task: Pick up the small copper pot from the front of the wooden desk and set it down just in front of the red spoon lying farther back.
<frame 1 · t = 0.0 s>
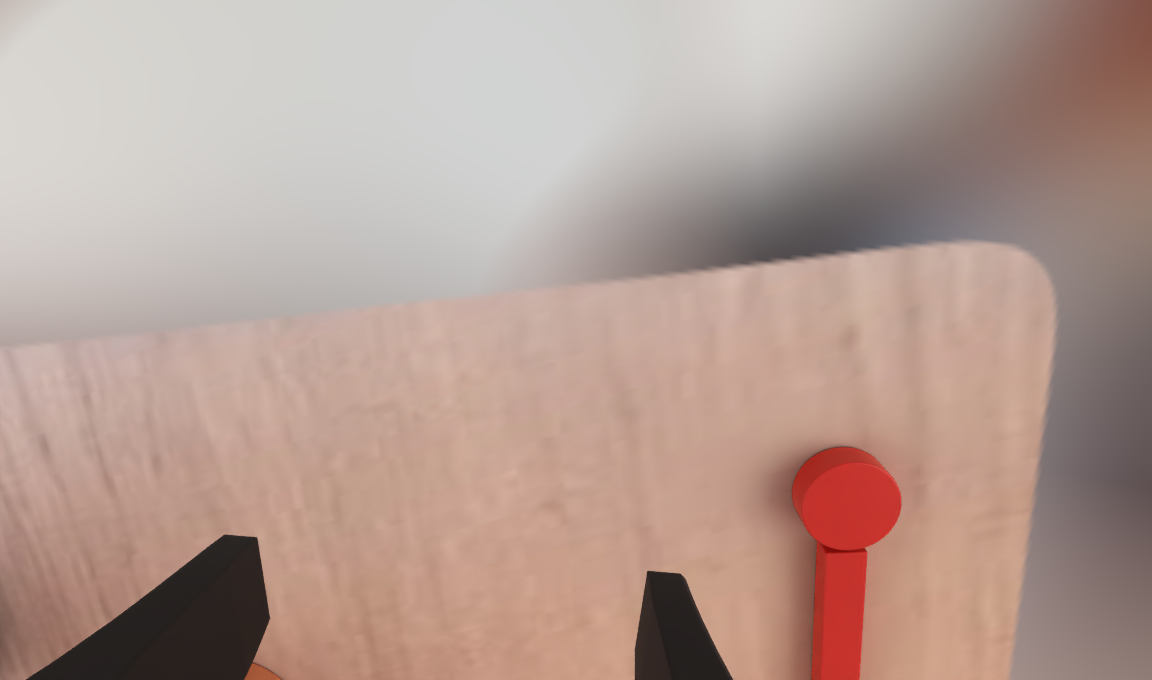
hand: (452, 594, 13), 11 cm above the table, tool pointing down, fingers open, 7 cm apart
red spoon: (833, 610, 25), on the table
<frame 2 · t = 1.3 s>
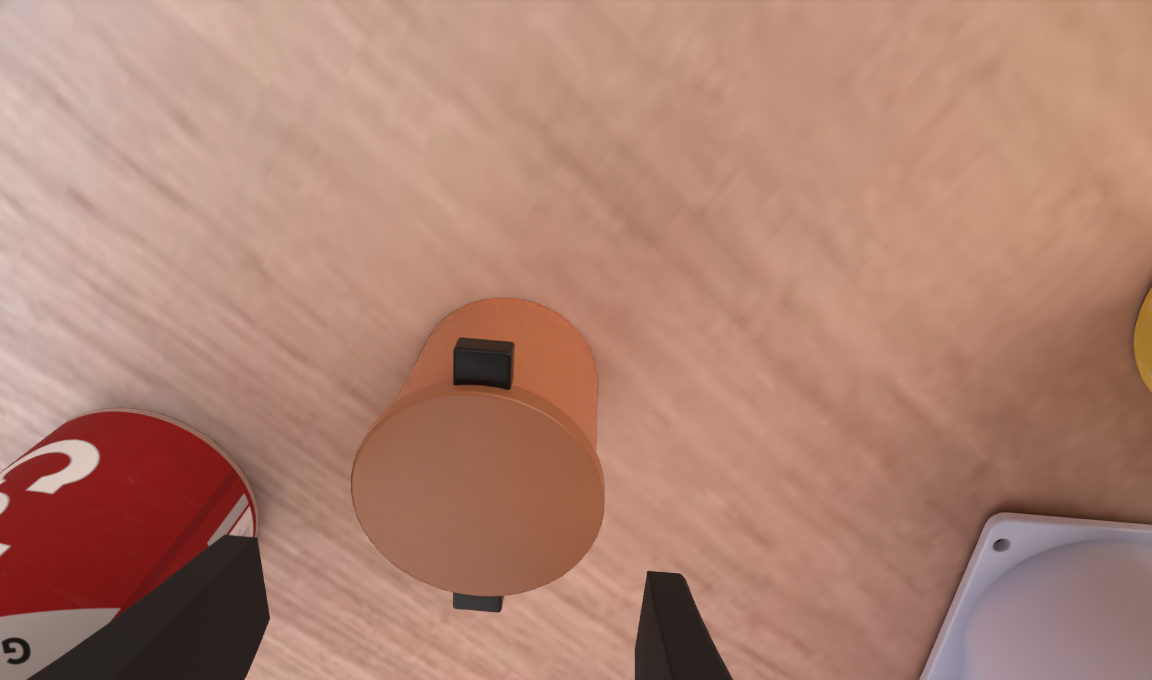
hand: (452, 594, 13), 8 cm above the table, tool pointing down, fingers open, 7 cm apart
soda can: (167, 482, 23), on the table
copper pot: (508, 379, 20), on the table
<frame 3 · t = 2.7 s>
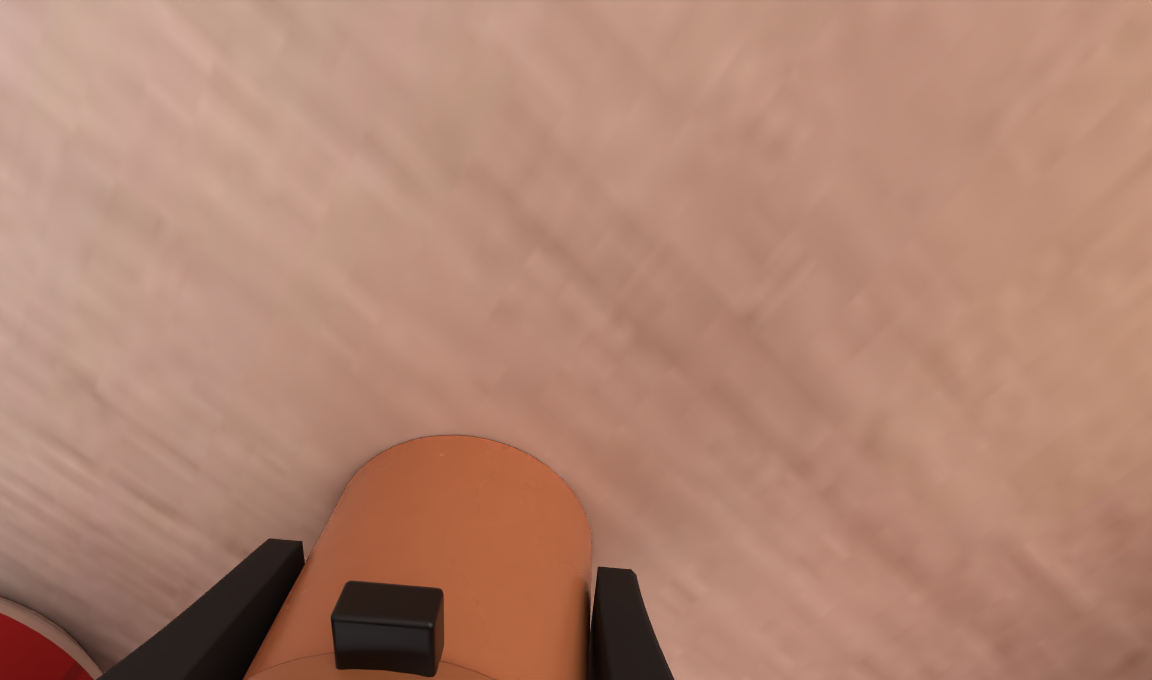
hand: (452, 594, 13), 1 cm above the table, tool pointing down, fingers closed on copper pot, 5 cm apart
soda can: (1, 660, 16), on the table
copper pot: (464, 541, 14), on the table, touching gripper
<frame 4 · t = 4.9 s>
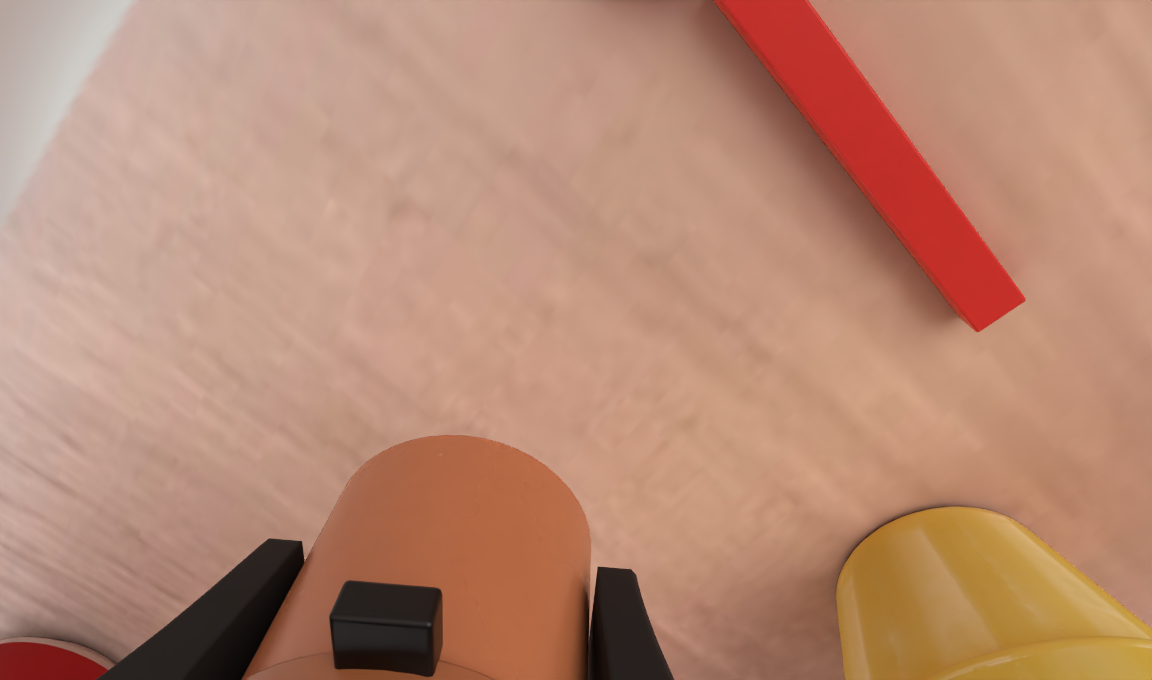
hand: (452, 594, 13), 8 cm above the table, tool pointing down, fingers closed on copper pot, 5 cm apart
red spoon: (810, 74, 17), on the table
copper pot: (463, 541, 14), point 7 cm above the table, touching gripper
flower pot: (931, 580, 23), on the table
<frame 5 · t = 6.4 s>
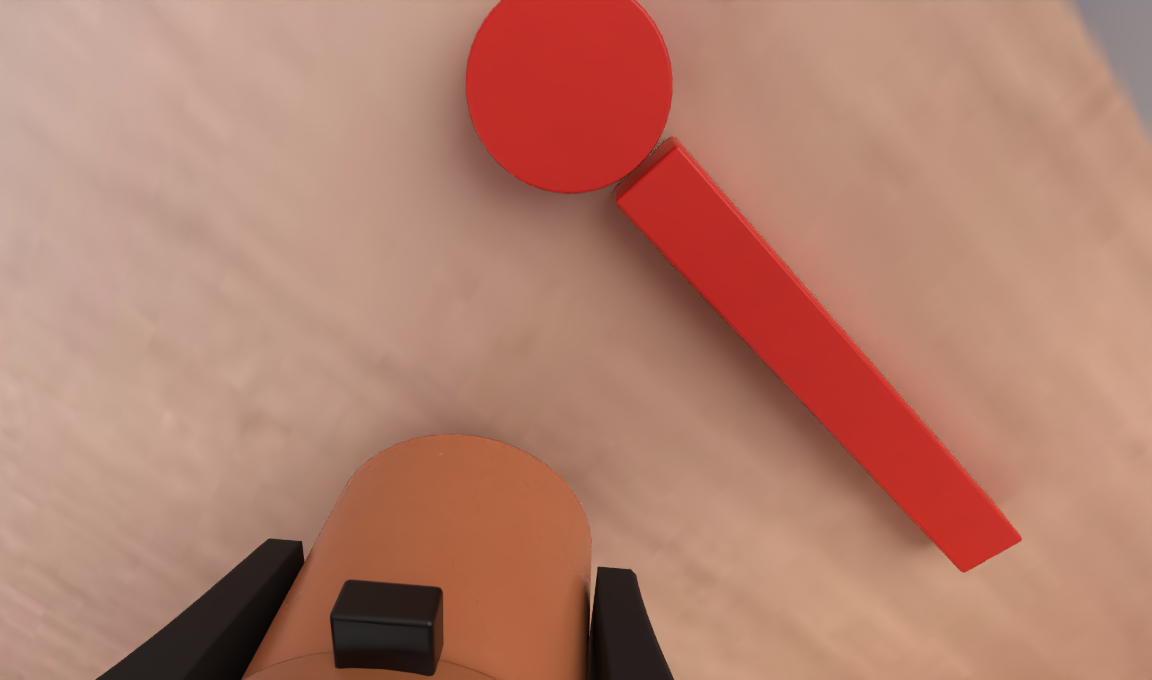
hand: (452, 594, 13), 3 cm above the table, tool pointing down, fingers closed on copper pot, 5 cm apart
red spoon: (747, 278, 13), on the table
copper pot: (463, 540, 14), point 2 cm above the table, touching gripper
when the fingers open (1 cm above the table, at t = 7.5 s): copper pot stays where it is, on the table.
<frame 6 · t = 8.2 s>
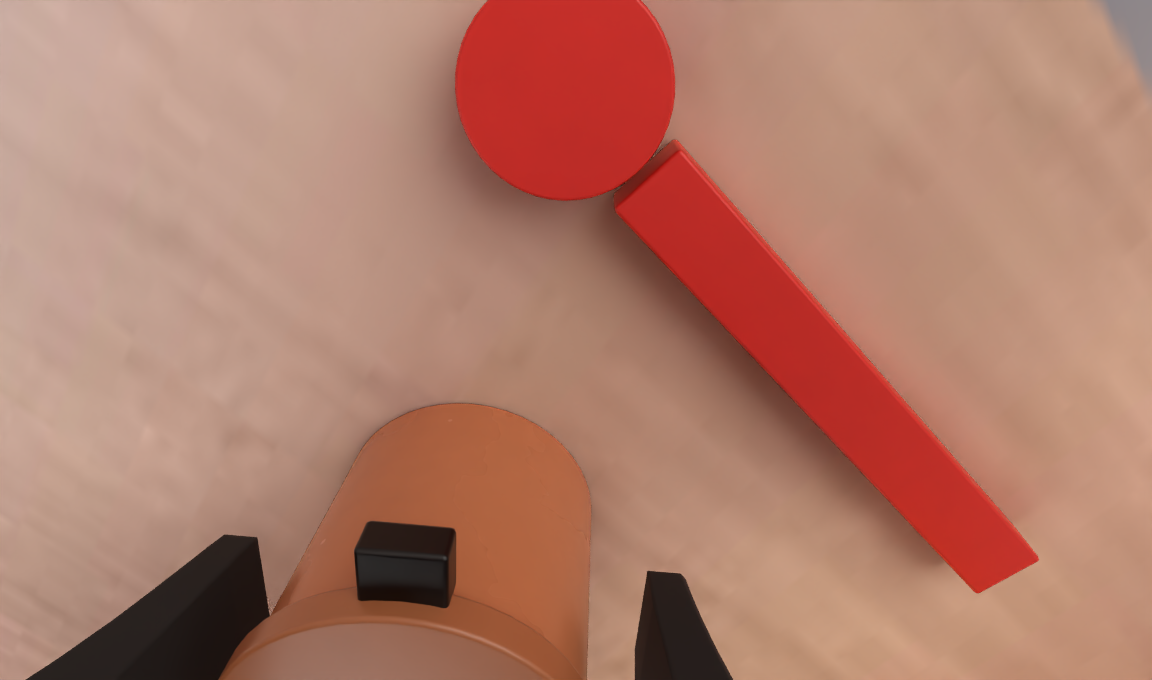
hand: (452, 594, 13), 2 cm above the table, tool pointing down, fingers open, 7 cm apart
red spoon: (753, 288, 13), on the table
copper pot: (470, 506, 15), on the table
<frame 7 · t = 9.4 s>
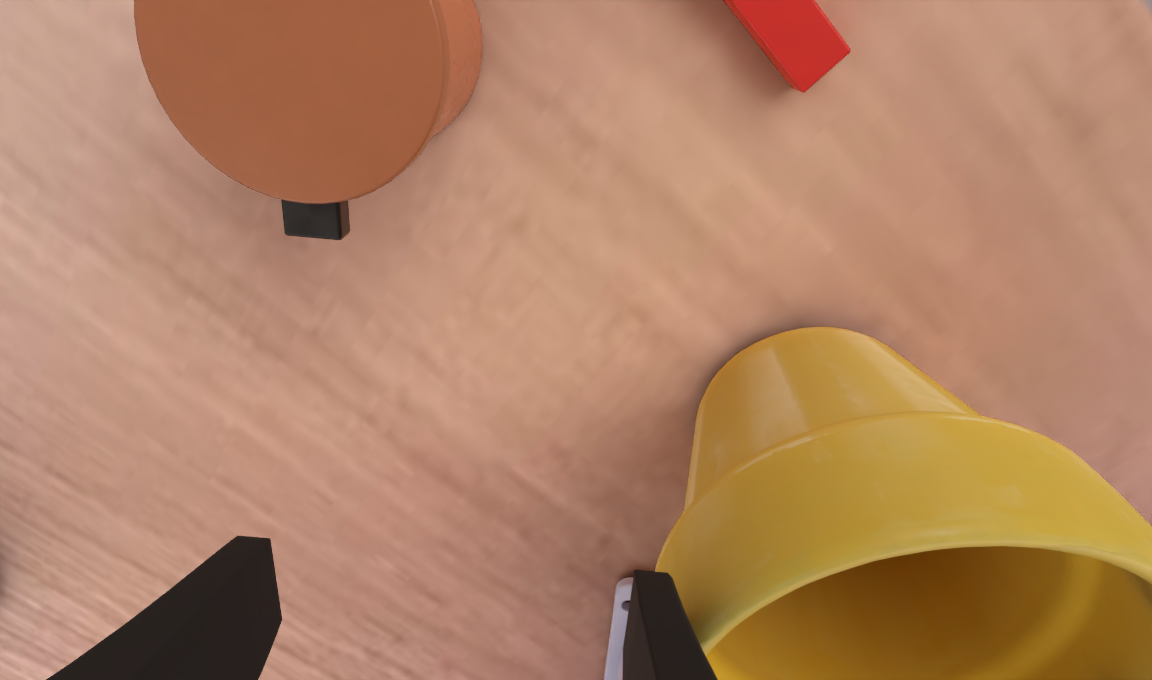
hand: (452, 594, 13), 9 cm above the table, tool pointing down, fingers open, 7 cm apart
copper pot: (380, 39, 18), on the table
flower pot: (799, 416, 22), on the table, touching gripper
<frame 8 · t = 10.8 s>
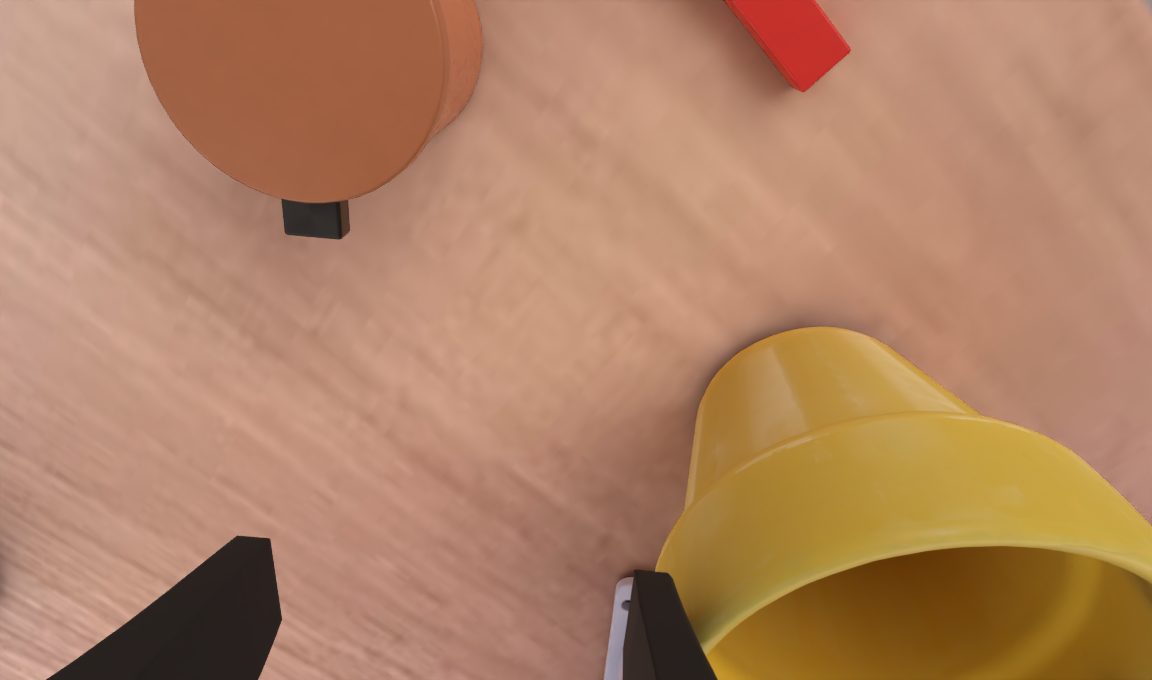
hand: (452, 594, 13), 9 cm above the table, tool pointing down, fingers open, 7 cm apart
copper pot: (380, 39, 18), on the table
flower pot: (799, 416, 22), on the table, touching gripper
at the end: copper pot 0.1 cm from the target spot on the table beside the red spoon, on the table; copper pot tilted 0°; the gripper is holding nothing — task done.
